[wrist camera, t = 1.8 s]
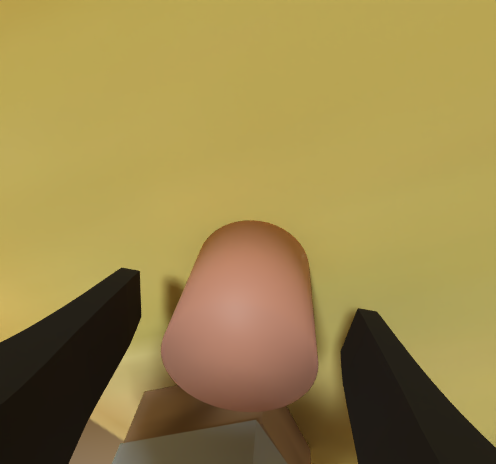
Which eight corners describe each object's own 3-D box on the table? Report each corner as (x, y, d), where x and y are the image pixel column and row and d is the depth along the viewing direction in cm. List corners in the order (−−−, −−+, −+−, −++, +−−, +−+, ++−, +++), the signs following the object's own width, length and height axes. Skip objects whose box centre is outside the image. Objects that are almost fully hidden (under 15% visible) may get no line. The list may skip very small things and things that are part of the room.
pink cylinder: (287, 205, 12) (287, 285, 8) (322, 297, 13) (337, 400, 10) (179, 239, 13) (131, 324, 9) (225, 320, 15) (202, 420, 11)
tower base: (266, 362, 16) (262, 423, 14) (309, 442, 19) (313, 505, 17) (146, 386, 18) (123, 443, 16) (202, 455, 21) (191, 513, 18)
